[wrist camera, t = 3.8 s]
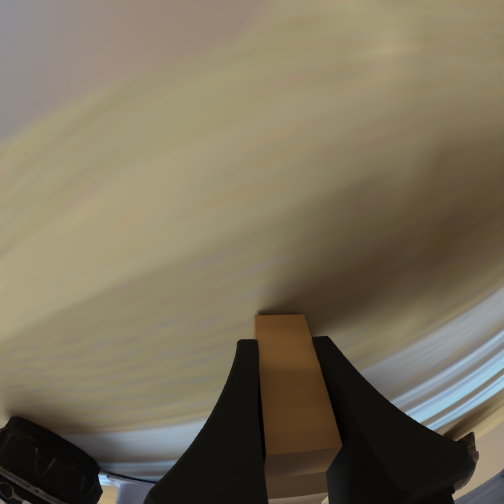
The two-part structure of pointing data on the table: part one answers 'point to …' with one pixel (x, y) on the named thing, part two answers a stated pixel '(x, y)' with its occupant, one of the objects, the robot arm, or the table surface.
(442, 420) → the table surface
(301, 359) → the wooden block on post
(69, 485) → the container
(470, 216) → the table surface
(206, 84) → the table surface
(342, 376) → the robot arm
